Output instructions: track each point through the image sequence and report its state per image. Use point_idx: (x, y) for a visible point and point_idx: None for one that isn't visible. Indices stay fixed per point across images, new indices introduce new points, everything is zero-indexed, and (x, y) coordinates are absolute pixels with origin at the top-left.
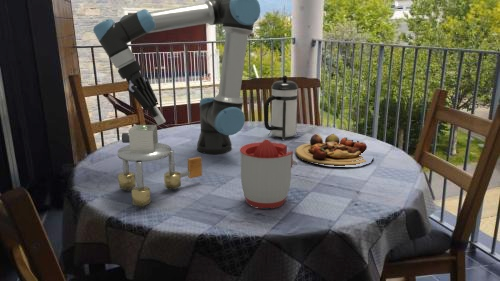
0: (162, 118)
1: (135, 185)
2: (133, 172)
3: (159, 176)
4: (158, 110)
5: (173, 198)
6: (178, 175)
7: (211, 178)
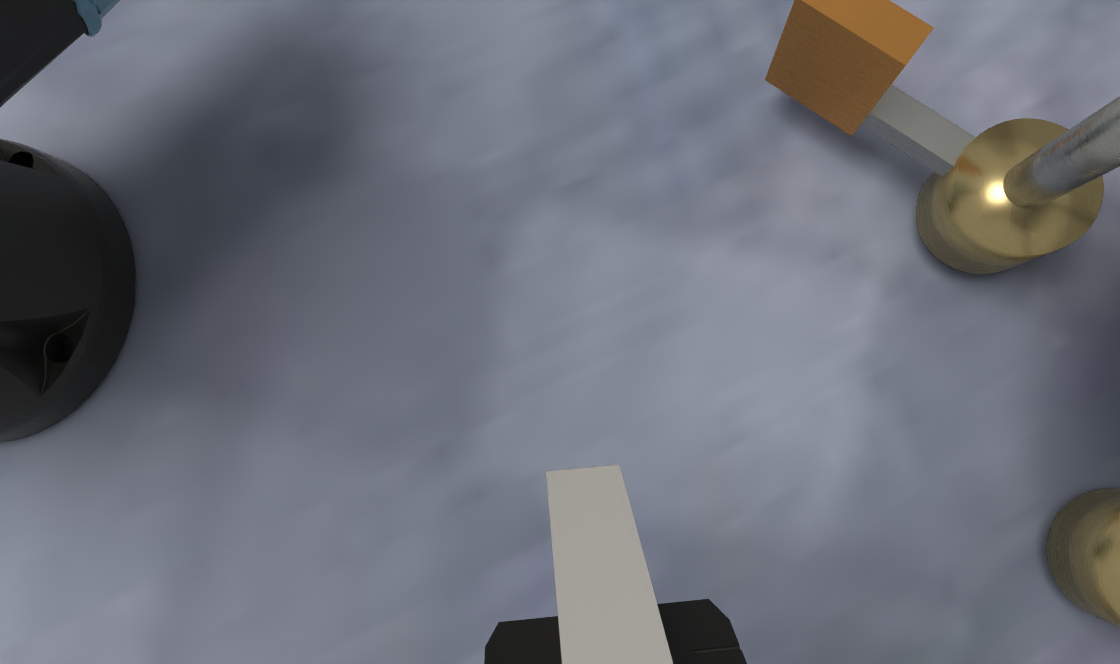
0: (609, 510)
1: (1094, 491)
2: (1114, 542)
3: (740, 449)
4: (600, 637)
5: None
6: (1041, 120)
7: (663, 55)
